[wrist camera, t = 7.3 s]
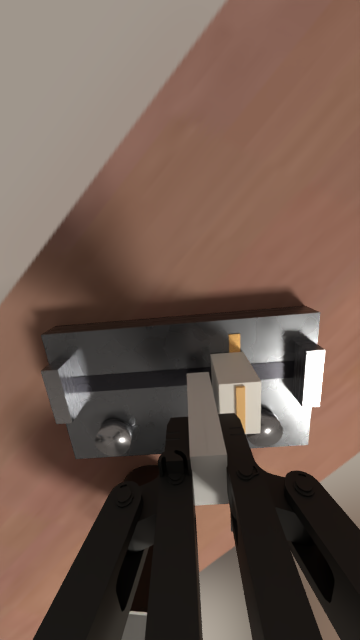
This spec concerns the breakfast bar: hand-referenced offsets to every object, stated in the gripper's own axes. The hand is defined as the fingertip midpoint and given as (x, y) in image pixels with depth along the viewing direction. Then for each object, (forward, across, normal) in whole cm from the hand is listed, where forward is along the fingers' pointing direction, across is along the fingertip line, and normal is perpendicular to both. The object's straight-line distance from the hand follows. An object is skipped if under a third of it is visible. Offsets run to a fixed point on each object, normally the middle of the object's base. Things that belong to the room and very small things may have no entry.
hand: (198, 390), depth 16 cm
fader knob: (+2, +2, 0) cm, 3 cm away
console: (+4, -1, -2) cm, 4 cm away
